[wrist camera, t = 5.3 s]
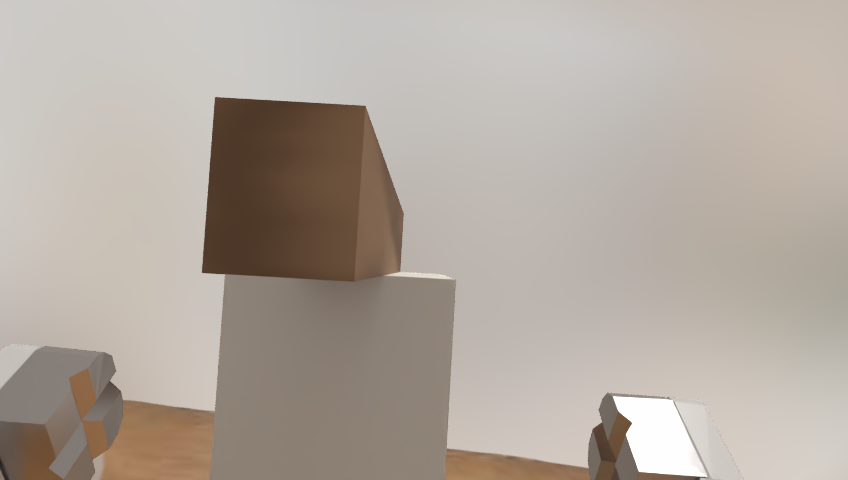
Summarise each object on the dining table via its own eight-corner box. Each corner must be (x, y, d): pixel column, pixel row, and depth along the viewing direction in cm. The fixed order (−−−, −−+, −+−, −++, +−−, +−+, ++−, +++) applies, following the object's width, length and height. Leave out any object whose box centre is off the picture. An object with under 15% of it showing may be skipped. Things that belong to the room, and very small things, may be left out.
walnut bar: (202, 272, 12) (215, 97, 12) (349, 269, 36) (353, 210, 36) (354, 281, 12) (365, 105, 12) (400, 272, 36) (403, 213, 36)
